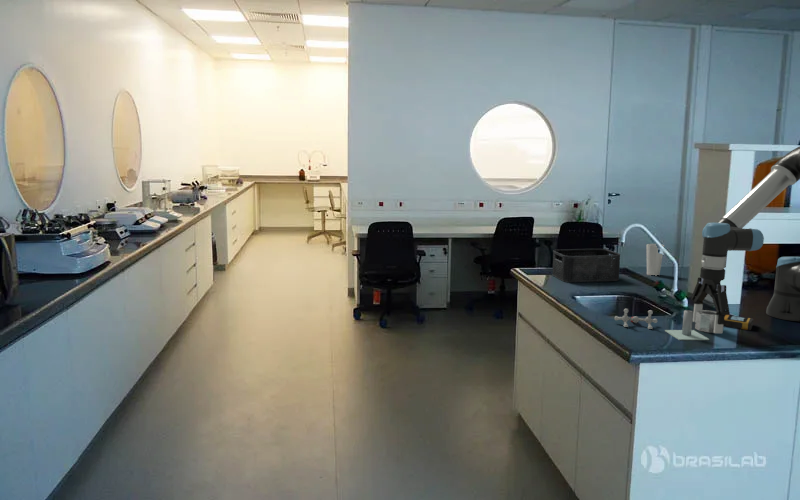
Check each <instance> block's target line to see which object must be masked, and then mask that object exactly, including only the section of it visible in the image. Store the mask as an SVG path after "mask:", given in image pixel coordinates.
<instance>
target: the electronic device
mask: <svg viewBox="0 0 800 500" xmlns="http://www.w3.org/2000/svg"><path fill="white" fill-rule="evenodd" d="M753 326H754V318H752V317H751V318H750V317H744V316H740V315H739V316H738V315H733V314H732V315H731V314H729V315H725V317H724V324H723V327H725V328H726V327H727V328H732V329H739V330H740V329H741V330H747V331H751V330H752V328H753Z"/></svg>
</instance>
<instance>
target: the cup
mask: <svg viewBox="0 0 800 500" xmlns="http://www.w3.org/2000/svg"><path fill="white" fill-rule="evenodd" d="M656 244H657V243H647V244H646V275H647V276H651V275H655V276H654V277H658V276H657V275H659V276H660V273H661V269H662V262H663V257H664V256H663V255H664V254H663V255H662V254H659V253H658V248H657V246H656ZM661 245H662V246H663V247H664V248H665V244H661Z"/></svg>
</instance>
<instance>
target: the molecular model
mask: <svg viewBox="0 0 800 500" xmlns="http://www.w3.org/2000/svg"><path fill="white" fill-rule="evenodd" d="M623 312H624V313H623V315H622V316H618V315H615V316H614V321H619V320H622V322H623V326H624V327H628V328H629V325H628V322H629V321H630V322H631V323H634V324H637V323H639V322H645V323H646V324H647V325H648V326H647V329H648V330H649V329H652V330H653V326H652V323H653V324H657V323H658V319H657V318H652V315H653V312H654V311H653V310H651V309H650V310H648V311H647V314H648V316H646V317H645V318H639V316H637V315H636V316H631V317H629V316H628V313H629V308H624V309H623ZM624 327H623V328H624Z"/></svg>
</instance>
